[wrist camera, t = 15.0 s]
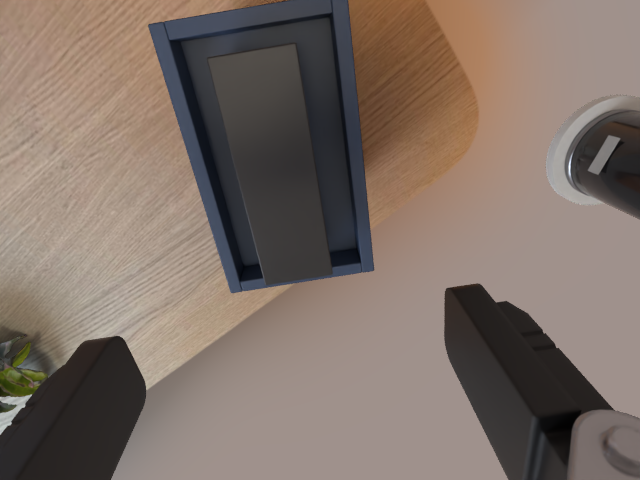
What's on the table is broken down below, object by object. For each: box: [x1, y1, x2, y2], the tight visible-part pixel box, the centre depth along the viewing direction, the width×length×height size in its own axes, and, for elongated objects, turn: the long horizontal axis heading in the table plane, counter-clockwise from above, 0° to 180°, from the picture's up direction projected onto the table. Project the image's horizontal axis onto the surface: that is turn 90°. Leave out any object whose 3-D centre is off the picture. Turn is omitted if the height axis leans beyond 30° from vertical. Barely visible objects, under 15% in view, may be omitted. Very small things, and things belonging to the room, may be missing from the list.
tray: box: [148, 0, 374, 293], centre depth 22 cm, size 10×16×2 cm, turn 8°
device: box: [207, 42, 333, 285], centre depth 21 cm, size 12×4×4 cm, turn 9°
